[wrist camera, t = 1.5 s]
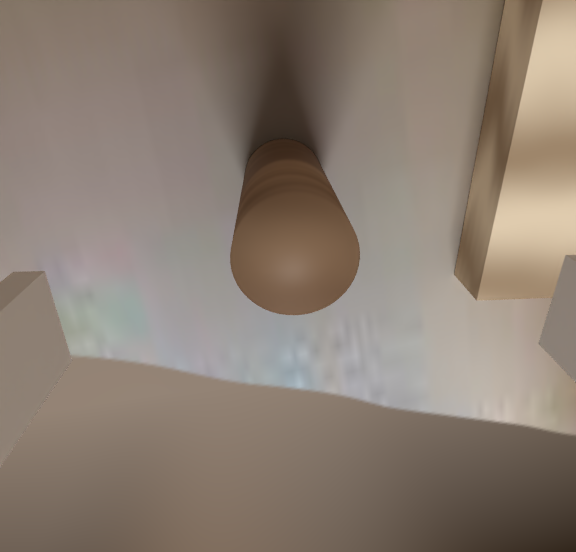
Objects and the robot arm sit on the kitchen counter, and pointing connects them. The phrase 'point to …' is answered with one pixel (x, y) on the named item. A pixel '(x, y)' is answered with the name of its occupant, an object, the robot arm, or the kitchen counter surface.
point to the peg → (291, 233)
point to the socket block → (525, 159)
